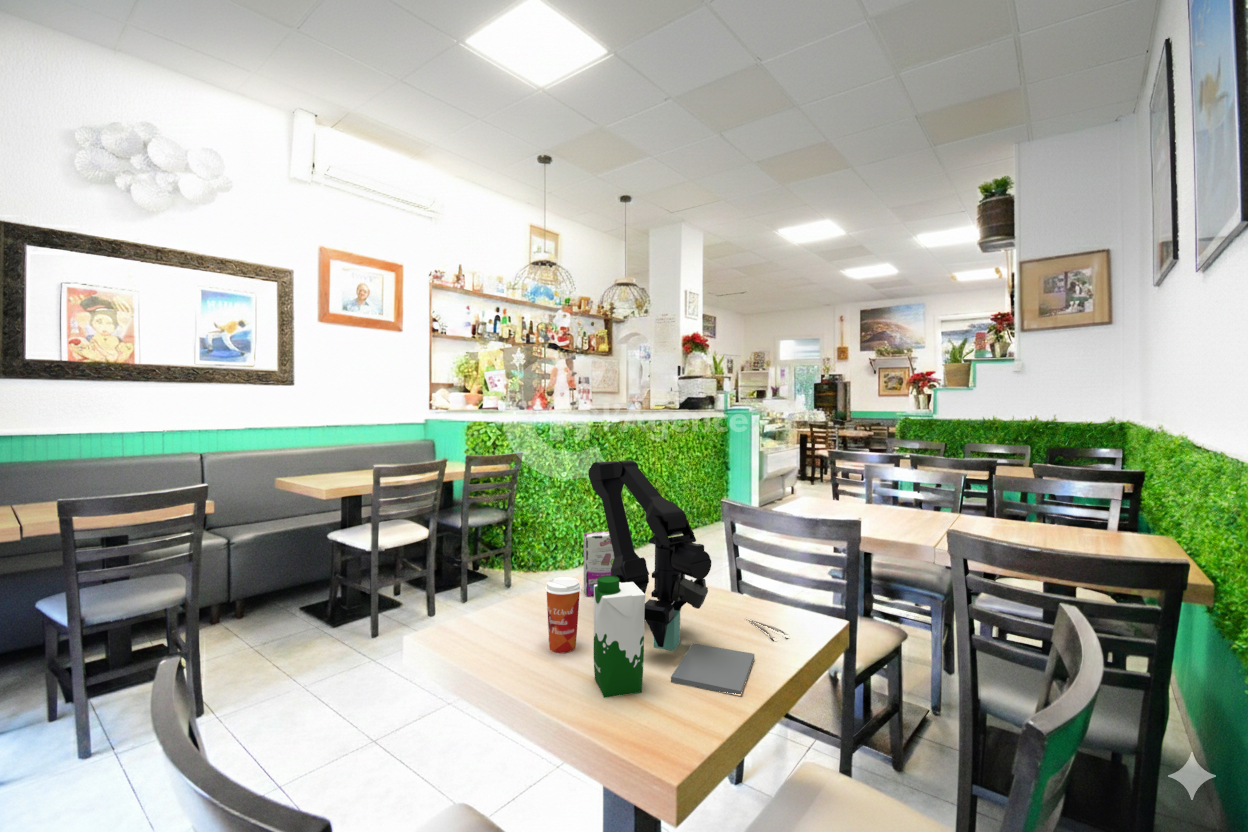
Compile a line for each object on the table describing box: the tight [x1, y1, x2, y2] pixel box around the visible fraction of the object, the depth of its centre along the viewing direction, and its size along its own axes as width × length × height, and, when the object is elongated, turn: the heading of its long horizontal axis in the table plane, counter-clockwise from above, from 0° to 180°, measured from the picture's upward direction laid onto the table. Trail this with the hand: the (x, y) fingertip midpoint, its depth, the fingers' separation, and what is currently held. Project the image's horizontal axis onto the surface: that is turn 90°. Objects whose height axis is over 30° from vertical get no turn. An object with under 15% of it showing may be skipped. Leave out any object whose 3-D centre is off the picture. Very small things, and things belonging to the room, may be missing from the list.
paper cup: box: [544, 576, 582, 654], centre depth 117 cm, size 8×8×14 cm
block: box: [653, 610, 681, 652], centre depth 119 cm, size 4×4×7 cm
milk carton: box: [593, 576, 646, 699], centre depth 101 cm, size 9×9×20 cm
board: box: [670, 642, 755, 695], centre depth 108 cm, size 13×16×1 cm
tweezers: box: [745, 618, 789, 640], centre depth 130 cm, size 18×5×2 cm, turn 24°
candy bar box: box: [583, 531, 614, 597], centre depth 152 cm, size 11×5×16 cm, turn 105°
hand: (666, 638), depth 119 cm, fingers open, 8 cm apart
